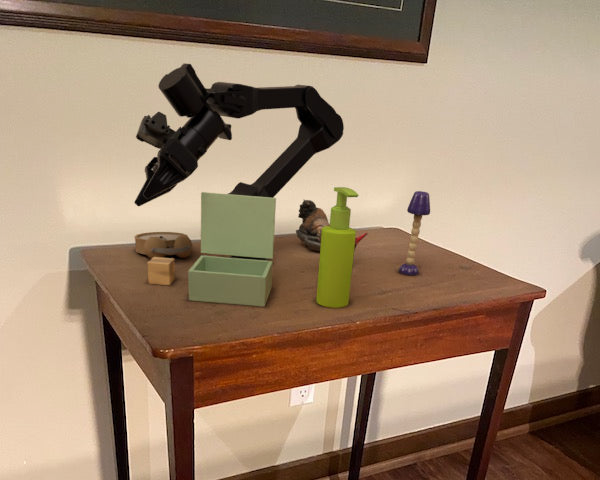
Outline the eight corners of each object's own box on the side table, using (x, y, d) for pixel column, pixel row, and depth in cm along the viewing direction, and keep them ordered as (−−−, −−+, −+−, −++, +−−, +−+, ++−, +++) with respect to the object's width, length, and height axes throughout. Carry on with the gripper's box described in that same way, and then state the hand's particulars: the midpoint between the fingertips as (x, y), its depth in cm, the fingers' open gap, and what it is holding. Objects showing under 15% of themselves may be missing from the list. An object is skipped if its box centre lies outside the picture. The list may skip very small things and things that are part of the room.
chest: (264, 306, 108) (265, 277, 105) (188, 300, 108) (188, 270, 105) (271, 288, 117) (272, 260, 114) (201, 282, 117) (201, 255, 115)
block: (154, 277, 118) (153, 256, 116) (175, 279, 118) (174, 258, 116) (148, 283, 115) (147, 262, 113) (169, 285, 115) (168, 264, 113)
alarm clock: (178, 230, 140) (200, 234, 127) (180, 252, 141) (201, 258, 129) (128, 233, 135) (146, 237, 122) (130, 256, 136) (148, 262, 124)
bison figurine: (338, 253, 142) (342, 208, 137) (311, 255, 139) (314, 209, 134) (314, 240, 151) (317, 198, 147) (288, 242, 148) (290, 199, 144)
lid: (275, 198, 109) (276, 197, 110) (201, 192, 110) (202, 192, 111) (272, 258, 114) (273, 258, 114) (200, 253, 114) (201, 252, 115)
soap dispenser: (327, 311, 108) (337, 192, 98) (310, 298, 113) (319, 184, 104) (356, 308, 110) (370, 191, 100) (339, 295, 115) (350, 184, 106)
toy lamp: (424, 273, 132) (437, 193, 124) (412, 277, 129) (424, 195, 121) (405, 268, 134) (417, 189, 127) (393, 272, 131) (404, 191, 123)
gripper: (151, 116, 117) (98, 176, 115) (172, 85, 100) (110, 155, 98) (195, 161, 122) (145, 219, 120) (222, 138, 105) (164, 206, 103)
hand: (140, 200), depth 110 cm, fingers open, 9 cm apart
